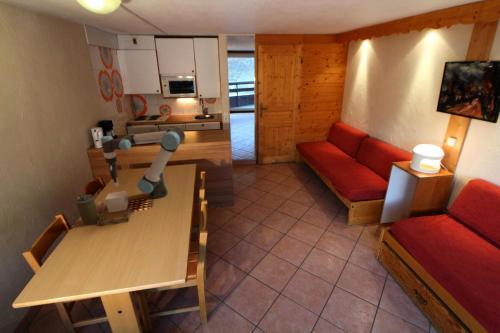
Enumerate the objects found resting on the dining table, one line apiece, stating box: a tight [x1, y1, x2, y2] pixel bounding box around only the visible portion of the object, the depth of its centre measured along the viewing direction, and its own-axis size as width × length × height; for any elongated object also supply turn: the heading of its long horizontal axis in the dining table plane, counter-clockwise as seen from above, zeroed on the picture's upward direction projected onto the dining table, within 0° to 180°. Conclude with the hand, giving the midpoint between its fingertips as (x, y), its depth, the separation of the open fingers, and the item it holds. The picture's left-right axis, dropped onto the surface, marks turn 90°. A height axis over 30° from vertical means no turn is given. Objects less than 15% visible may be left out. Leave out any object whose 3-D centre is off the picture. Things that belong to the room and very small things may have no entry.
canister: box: [75, 193, 100, 226], centre depth 170 cm, size 11×10×20 cm
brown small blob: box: [95, 200, 106, 213], centre depth 186 cm, size 6×6×6 cm
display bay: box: [96, 207, 131, 227], centre depth 176 cm, size 18×14×3 cm
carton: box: [105, 190, 129, 213], centre depth 188 cm, size 12×10×11 cm
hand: (116, 185), depth 193 cm, fingers closed
